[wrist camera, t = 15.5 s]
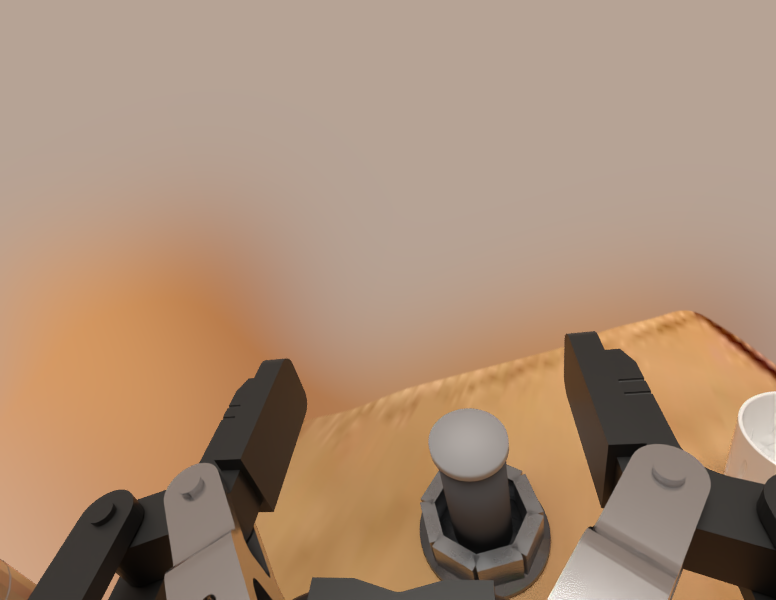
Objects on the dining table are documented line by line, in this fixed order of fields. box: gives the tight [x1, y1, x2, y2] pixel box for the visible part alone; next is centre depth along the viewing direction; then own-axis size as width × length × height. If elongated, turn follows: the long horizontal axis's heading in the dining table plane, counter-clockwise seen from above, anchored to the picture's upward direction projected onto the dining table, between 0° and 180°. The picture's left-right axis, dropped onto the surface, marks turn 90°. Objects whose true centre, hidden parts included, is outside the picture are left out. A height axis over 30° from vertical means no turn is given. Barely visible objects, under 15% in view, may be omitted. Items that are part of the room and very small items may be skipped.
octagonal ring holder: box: [420, 464, 550, 599], centre depth 37 cm, size 11×11×4 cm
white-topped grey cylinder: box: [429, 409, 513, 554], centre depth 35 cm, size 6×6×12 cm
